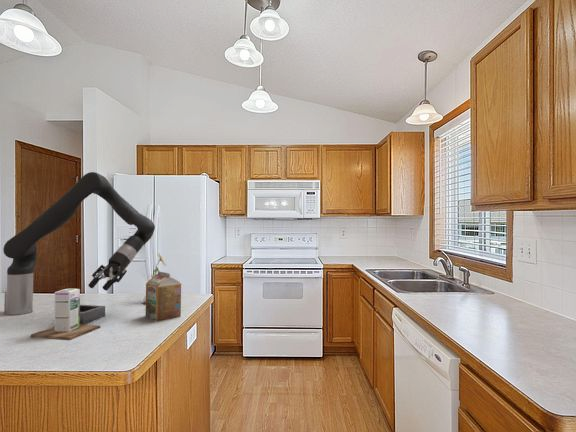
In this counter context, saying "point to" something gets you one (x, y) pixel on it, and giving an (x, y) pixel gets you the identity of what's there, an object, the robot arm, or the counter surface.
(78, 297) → the syrup box
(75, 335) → the walnut mat
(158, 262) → the flower in vase
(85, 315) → the square socket
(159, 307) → the milk carton
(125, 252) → the robot arm
